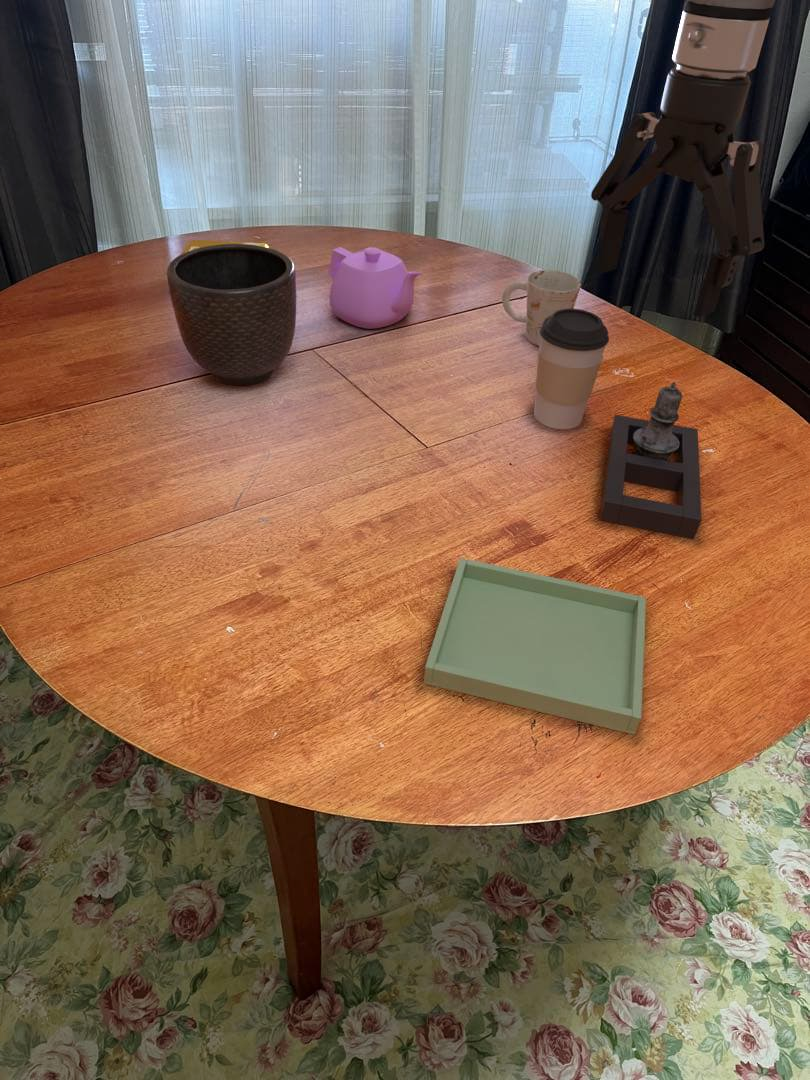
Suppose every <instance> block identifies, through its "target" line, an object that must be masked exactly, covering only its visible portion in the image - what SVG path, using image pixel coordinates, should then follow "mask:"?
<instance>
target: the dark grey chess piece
mask: <svg viewBox="0 0 810 1080" xmlns="http://www.w3.org/2000/svg"><path fill="white" fill-rule="evenodd" d="M682 399H683V394H682V391H681V390H680V389H679V388H677V384H676V381H673V382H671V383H670V385H668V386H667V385H666V386H664V387H663V386H662V387H661V389H659V391H658V393H657V396H656V400H655V403H654V406H653V407H652V408H651V409H650V410H649V415H650V418H649V420H648V421H649V424H648V426H647V427H645V428H641V429H638V430H637V431H636V432H635V433H634V435H633V439H634V445H633V446H634V450H635V451H633V452H631V454H633V455H638V456H644V457H649V458H655V459H660V460H666V461H669V460H668V459H670V458H671V457H672V456H673V455H674V454H675V452H674V451H676V450H677V449H678V448H679V445H680V444H679V440H678V439H677V437H676V436H675V435H673V434H672V429H673V426H674V425H675V423H676V422H678V420H679V419H680V415H679V413H678V412H679V408H680V405H681V402H682Z"/></svg>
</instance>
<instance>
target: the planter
mask: <svg viewBox="0 0 810 1080" xmlns="http://www.w3.org/2000/svg"><path fill="white" fill-rule="evenodd" d="M166 277H167V283H168V289H169V294H170V295H169V296H170V300H171V305H172V309H173V312H174V313H173V314H174V318H175V321H176V324H177V328H178V330H179V334H180V335H179V336H180V337H181V340H182V342H183V345H184V347H185V349H186V350H187V352H188V354H189V355H190V357H191V358H192V360H193V361H194V362H195V363H196V364H197V365H198V366H200V367H201V368H202V369H203V370H205V371H206V372H209V373H210V374H211V375H212V376H213V377H214V378H215V379H216V380H217V381H219V382H220V383H223V384H226V385H229V386H240V387H241V386H242V387H243V386H244V387H245V386H252V385H256V384H259V383H261V382H263V381H265V380H267V379H268V378H270V376H271V375H273V372H274V371H275V369H276V368H278V367H279V366H280V365H281V364H282V363H283V362H284V360H285V359H286V358H287V356H288V355H289V353H290V351H291V348H292V345H293V341H294V337H295V333H296V322H297V280H296V278H297V276H296V268H295V264H294V262H293V260H292V259H291V258H290V257H289V256H287V255H286V254H285V253H284V252H282V251H279V250H277V249H273V248H270V247H269V248H267V247H263V246H257V245H249V244H220V245H212V246H206V247H201V248H197V249H193V250H191V251H188V252H185V253H183V254H182V253H181V254H179V255H178V256H176V257H174V259H172V261H170V262H169V264H168V266H167V270H166Z"/></svg>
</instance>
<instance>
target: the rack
mask: <svg viewBox="0 0 810 1080" xmlns="http://www.w3.org/2000/svg"><path fill="white" fill-rule="evenodd" d="M649 421H650V420H647V419H642V418H637V417H636V418H635V417H630V416H626V415H619V414H614V416H613V421H612V425H611V427H610V432H609V439H608V447H607V455H606V463H605V474H604V481H603V488H602V489H603V490H602V498H601V505H600V506H601V507H600V514H599V521H600V522H604V523H609V524H614V525H620V526H625V527H630V528H635V529H640V530H645V531H650V532H656V533H660V534H665V535H670V536H677V537H680V538H686V539H691V540H694V539H696V536H697V532H698V530H699V527H700V525H701V522H702V501H701V499H702V498H701V479H700V478H701V477H700V475H701V474H700V453H699V452H700V451H699V433H698V432H699V429H698V428H694V427H688V426H682V425H677V424H674V426H673V429H672V434H673V435H675V436H676V437H677V439H678V440H679V444H680V445H679V448H678V449H677V450H676V451H674V453H676V455H675V457H676V461H671V460H668V461H666V460H660V459H655V458H649V457H644V456H638V455H633V454H632V453H628V452H627V450H628V445H633V446H634V439H633V435H634V433H635V432H636V431H637V430H638V429H641V428H645V427H647V426H648V424H649ZM625 483H631V484H634V485H635V484H636V485H641V486H645V487H652V488H658V489H662V490H668V491H672V492H676V504H674V503H668V502H663V501H659V500H658V501H657V500H653V499H652V500H651V499H648V498H643V497H638V496H632V495H626V494H624V487H625Z"/></svg>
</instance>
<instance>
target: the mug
mask: <svg viewBox="0 0 810 1080" xmlns="http://www.w3.org/2000/svg"><path fill="white" fill-rule="evenodd" d="M526 280H527V282H526V281H521V280H516V281H512V282H510V284H508V285H507V287H505V288H504V291H503V293H502V298H501V302H502V306H503V308H504V311H505V312H506V313H507V315H508V316H509V317H510V319H513V320H514V321H516V322H518V323H525V338H526V340H527V341H528V342H529V343H531V344H532V345H535V346H538V347H539V346H540V341H541V334H540V328H541V327H542V325H543V322H544V320H545V319H546V318H547V317H549V316H551V315H553V314H554V313H555V312H556V311H558V310H562V309H575V304H576V301H577V299H578V296H579V294H580V291H581V290H580V289H581V286H582V284H581V280H580V278H578V277H577V276H575V275H574V274H572V273H568V272H565V271H560V270H554V269H553V270H552V269H543V270H537V271H533V272H531V273H530V274H529V275H528V276H527V279H526ZM516 290H522V291H525V292H526V317H525V316H521V315H518V314H517V313H516V312H515V311H514V310H513V308H512V306H511V303H510V302H511V301H510V298H511V295H512V294H513V293H514V292H515V291H516Z"/></svg>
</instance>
